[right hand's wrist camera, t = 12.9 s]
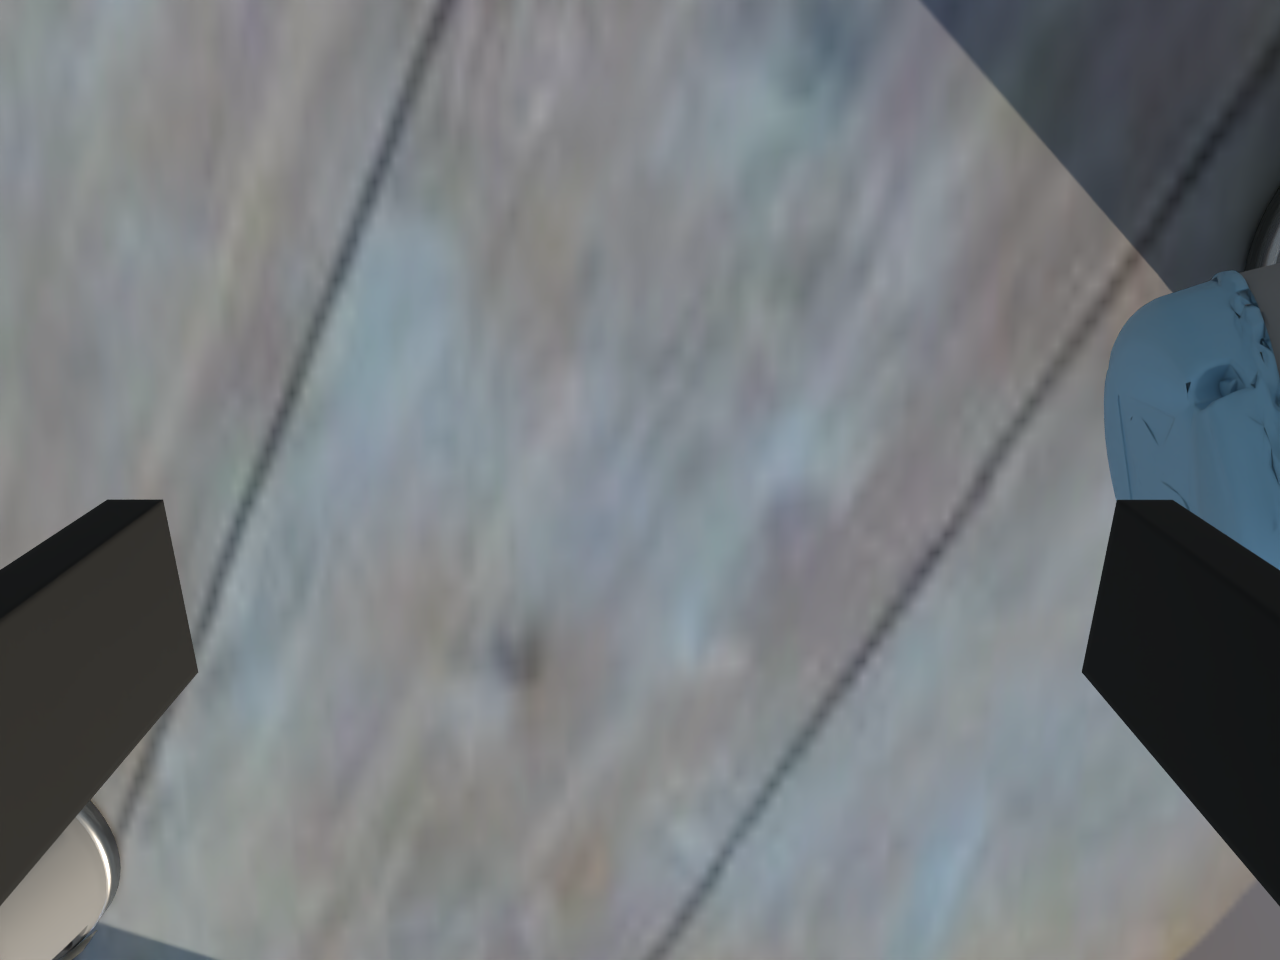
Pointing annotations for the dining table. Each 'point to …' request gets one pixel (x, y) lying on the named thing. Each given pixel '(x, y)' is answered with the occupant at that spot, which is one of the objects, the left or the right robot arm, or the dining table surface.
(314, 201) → the dining table surface
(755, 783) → the dining table surface
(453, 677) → the dining table surface
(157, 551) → the right robot arm
